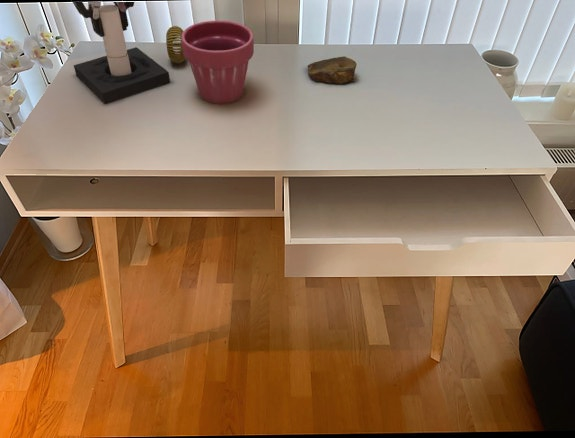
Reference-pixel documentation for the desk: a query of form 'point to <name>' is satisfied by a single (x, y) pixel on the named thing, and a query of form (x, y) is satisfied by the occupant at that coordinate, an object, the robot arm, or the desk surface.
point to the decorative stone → (333, 70)
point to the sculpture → (174, 44)
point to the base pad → (119, 87)
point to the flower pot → (218, 58)
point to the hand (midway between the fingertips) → (112, 31)
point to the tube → (114, 40)
